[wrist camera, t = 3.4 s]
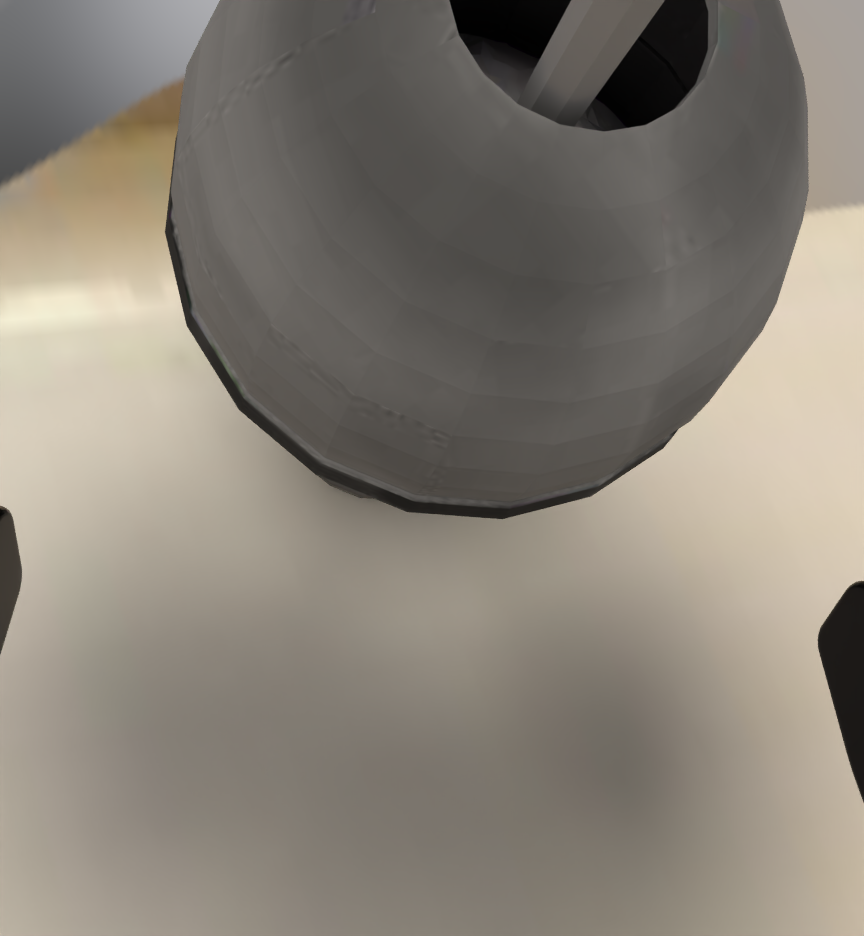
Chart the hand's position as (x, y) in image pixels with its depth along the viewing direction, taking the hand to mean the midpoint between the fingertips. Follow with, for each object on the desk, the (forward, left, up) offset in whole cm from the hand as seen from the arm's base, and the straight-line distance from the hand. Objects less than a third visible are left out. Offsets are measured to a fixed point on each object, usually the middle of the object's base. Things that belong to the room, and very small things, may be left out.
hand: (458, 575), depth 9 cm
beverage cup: (+4, -2, -12) cm, 13 cm away
